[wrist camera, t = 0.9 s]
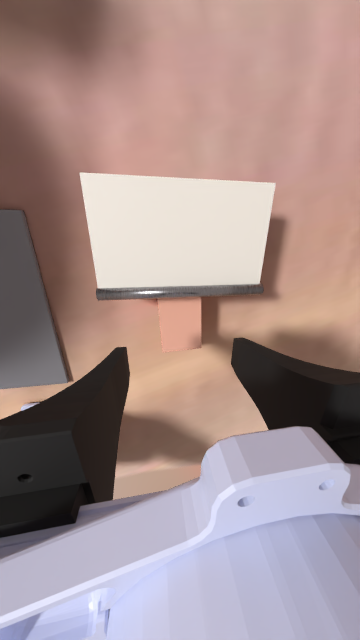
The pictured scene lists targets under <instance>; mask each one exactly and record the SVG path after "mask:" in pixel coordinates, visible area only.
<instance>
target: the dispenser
mask: <svg viewBox="0 0 360 640" xmlns="http://www.w3.org/2000/svg"><path fill="white" fill-rule="evenodd" d="M80 179H81V185H82V192H83V198H84V204H85V210H86V216H87V223H88V229H89V235H90V241H91V247H92V254H93V260H94V266H95V272H96V279H97V285H98V288H97V290H96V296H97V299H98V300H126V299H155V298H183V297H211V296H239V295H261V294H262V293H263V290H264V288H263V285H262V284H260V278H261V272H262V266H263V259H264V253H265V247H266V240H267V234H268V228H269V222H270V215H271V209H272V203H273V196H274V190H275V184H276V183H264V182H246V181H227V180H209V179H190V178H172V177H153V176H134V175H116V174H97V173H80Z"/></svg>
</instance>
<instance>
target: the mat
mask: <svg viewBox="0 0 360 640" xmlns="http://www.w3.org/2000/svg"><path fill="white" fill-rule="evenodd" d="M68 382H69V378H68V375H67V371H66V367H65V363H64V360H63V356H62V352H61V349H60V345H59V341H58V337H57V334H56V330H55V326H54V322H53V319H52V315H51V311H50V307H49V304H48V300H47V296H46V293H45V289H44V285H43V281H42V278H41V274H40V270H39V266H38V263H37V259H36V255H35V251H34V248H33V244H32V240H31V237H30V233H29V229H28V225H27V222H26V218H25V214H24V211H22V210H1V209H0V389H7V388H18V387H29V386H40V385H51V384H62V383H68Z"/></svg>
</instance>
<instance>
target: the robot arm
mask: <svg viewBox="0 0 360 640" xmlns="http://www.w3.org/2000/svg"><path fill="white" fill-rule="evenodd" d="M231 365H232V367H233V369H234V371H235V373H236V375H237V377H238V379H239V380H240V382H241V383H242V385H243V386H244V388H245V389H246V391H247V392H248V394H249V395H250V397H251V398H252V400H253V401H254V403H255V404H256V406H257V408H258V409H259V411H260V413H261V415H262V417H263V419H264V421H265V423H266V425H267V427H268V429H269V430H267V431H261V432H254V433H248V434H241V435H234V436H230V437H227V438H225V439H222V440H219V441H217V442H216V443H215V444H214V445H212V446H211V447H210V448H209V449H208V450H207V451H206V453H205V456H204V458H203V460H202V463H201V476H200V477H198V478H196V479H193V480H191V481H188V482H186V483H183V484H181V485H178V486H176V487H173V488H171V489H168V490H165V491H159V492H154V493H149V494H144V495H138V496H133V497H127V498H121V499H116V500H113V490H114V479H115V469H116V459H117V449H118V440H119V432H120V425H121V419H122V415H123V410H124V406H125V402H126V397H127V392H128V388H129V377H130V371H129V364H128V356H127V348H126V347H117V348H115V349H114V350H113V351H112V352H111V353H110V354H109V355H108V356H107V357H106V358H105V359H104V360H103V361H102V362H101V363H100V364H99V365H97V366H96V367H95V368H94V369H93V370H91V371H90V372H89V373H88V374H87V375H85V376H84V377H83V378H81V379H80V380H78V381H77V382H75V383H74V384H72V385H71V386H69V387H67V388H66V389H64V390H62V391H61V392H59V393H57V394H56V395H54V396H52V397H50V398H48V399H46V400H44V401H42V402H40V403H30V404H24V405H23V406H22V408H21V411H20V412H18V413H16V414H13V415H11V416H8V417H6V418H4V419H1V420H0V640H360V373H358V372H350V371H344V370H339V369H333V368H328V367H324V366H320V365H316V364H311V363H308V362H304V361H301V360H298V359H295V358H292V357H289V356H286V355H283V354H281V353H278V352H276V351H273V350H271V349H268V348H266V347H264V346H262V345H259V344H257V343H255V342H253V341H250V340H248V339H245V338H234V342H233V351H232V360H231Z"/></svg>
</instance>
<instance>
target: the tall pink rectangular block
mask: <svg viewBox="0 0 360 640" xmlns="http://www.w3.org/2000/svg"><path fill="white" fill-rule="evenodd" d="M157 301H158V312H159V322H160V333H161V343H162V351H163V352H171V351H180V350H188V349H196V348H201V297H183V298H157Z"/></svg>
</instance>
